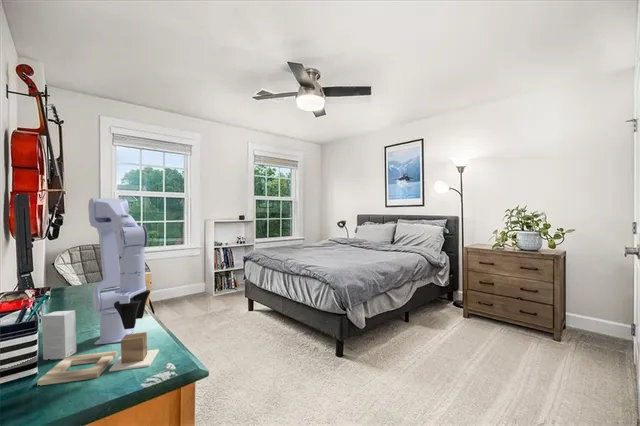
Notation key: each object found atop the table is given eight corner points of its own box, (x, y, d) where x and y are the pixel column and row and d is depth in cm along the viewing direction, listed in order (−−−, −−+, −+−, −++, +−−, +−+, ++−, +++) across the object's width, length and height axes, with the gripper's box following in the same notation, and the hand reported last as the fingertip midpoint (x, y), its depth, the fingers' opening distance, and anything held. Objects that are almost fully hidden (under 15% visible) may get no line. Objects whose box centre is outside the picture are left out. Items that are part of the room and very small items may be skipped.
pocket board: (66, 361, 82) (66, 356, 82) (117, 355, 85) (117, 350, 85) (37, 385, 70) (37, 380, 70) (97, 377, 73) (97, 372, 73)
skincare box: (77, 352, 87) (76, 310, 87) (65, 359, 83) (64, 315, 83) (55, 353, 87) (54, 310, 87) (42, 360, 83) (40, 315, 83)
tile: (123, 355, 85) (123, 353, 85) (158, 350, 87) (158, 349, 87) (109, 371, 76) (109, 369, 76) (149, 366, 78) (149, 364, 78)
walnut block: (126, 356, 82) (125, 334, 82) (147, 353, 84) (146, 332, 84) (121, 363, 79) (120, 340, 79) (143, 360, 80) (142, 337, 80)
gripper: (124, 268, 87) (125, 316, 87) (104, 278, 73) (105, 335, 73) (152, 266, 89) (153, 313, 89) (137, 276, 75) (139, 331, 75)
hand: (134, 323), depth 81 cm, fingers open, 7 cm apart
